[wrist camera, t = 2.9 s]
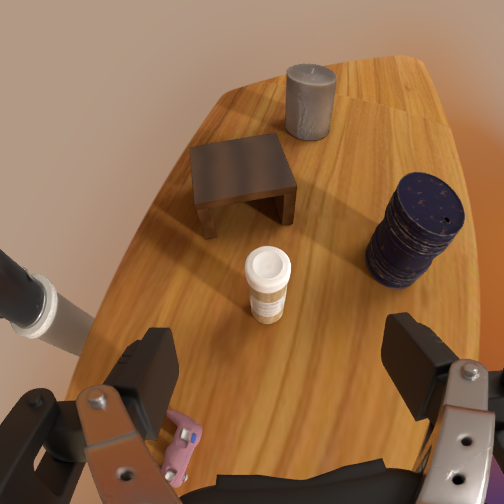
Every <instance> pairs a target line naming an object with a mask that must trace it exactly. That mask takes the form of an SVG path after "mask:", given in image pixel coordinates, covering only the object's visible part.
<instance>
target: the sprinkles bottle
mask: <svg viewBox="0 0 504 504" xmlns="http://www.w3.org/2000/svg"><path fill="white" fill-rule="evenodd" d="M290 272H291V264H290V260H289V258H288V256H287V255H286V254H285V253H284V252H283V251H282V250H280V249H278V248H276V247H272V246H263V247H259V248H257V249H255V250H254V251H252V252H251V253H250V254H249V256H248V257H247V259H246V262H245V275H246V279H247V282H248V284H249V297H250V303H251V312H252V315H253V317H254V318H255V319H256V320H257V321H258V322H261V323H264V324H271V323H274V322H276V321H278V320H279V319H280V318H281V316H282V314H283V311H284V303H285V297H286V291H287V283H288V281H289V278H290Z"/></svg>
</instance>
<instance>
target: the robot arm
mask: <svg viewBox="0 0 504 504" xmlns="http://www.w3.org/2000/svg"><path fill="white" fill-rule="evenodd" d="M24 269H25V270H24ZM24 269H23V268H22V267H20V266H19V265H18V264H17V263H16V262H14V261H13V260H12V259H11V258H10V257H9V256H7V255H6V254H5V253H4V252H3V251H2V250H1V249H0V318H5V319H7V320H9V321H10V322H12V323H14V324H16V325H17V326H18V327H20V328H23V329H28V328H31V327H33V326H34V325H35V324H36V323H37V322H38V321H39V320H40V318H41V317H42V315H43V313H44V310H45V307H46V302H47V293H46V289H45V287H44V285H43V284H42V283H41V282H40V281H39V280H37V279H35V278H34V277H33V276H31V275H30V273H29V272H28V270H27V269H26V268H24ZM381 359H382V363H383V365H384V367H385V369H386V370H387V372H388V374H389V376H390V377H391V379H392V381H393V382H394V384H395V386H396V387H397V389H398V391H399V393H400V394H401V396H402V398H403V400H404V401H405V403H406V405H407V407H408V408H409V410H410V412H411V414H412V416H413V417H414V419H415V421H419V420H423V419H426V418H428V419H429V420H430V422H429V424H428V427H427V429H426V432H425V436H424V439H423V442H422V445H421V448H420V450H419V453H418V456H417V459H416V461H415V464H414V466H413V469H412V471H410V470H405V469H398V468H386V467H385V464H384V462H383V459H382V458H381V459H377V460H372V461H368V462H363V463H358V464H353V465H348V466H343V467H341V468H338V469H336V470H333V471H330V472H327V473H325V474H322V475H319V476H316V477H313V478H310V479H306V480H293V479H284V478H277V477H270V476H263V475H217V479H216V485H214V486H208V487H204V488H200V489H197V490H194V491H191V492H189V493H187V494H185V495H182V496H181V497H178V496H177V494H176V493H175V491H174V490H173V488H172V487H171V485H170V484H169V482H168V481H167V479H166V478H165V476H164V474H163V473H162V471H161V470H160V468H159V466H158V465H157V463H156V461H155V460H154V458H153V456H152V455H151V453H150V451H149V450H148V448H147V446H146V444H145V443H144V439H147V440H155V441H157V438H158V435H159V432H160V429H161V426H162V423H163V420H164V417H165V414H166V411H167V408H168V405H169V402H170V399H171V396H172V394H173V391H174V388H175V385H176V382H177V379H178V375H179V364H178V359H177V355H176V350H175V345H174V340H173V335H172V331H171V329H170V328H149V329H148V331H147V332H146V334H145V335H144V337H143V338H142V340H136V341H135V342H134V343H132V344H131V345H129V346H128V347H127V348H126V350H125V351H124V353H123V354H122V357H120V359H119V360H118V362H117V364H116V365H115V366H114V368H113V369H112V371H111V372H110V374H109V375H108V377H107V378H106V380H105V381H104V383H103V384H102V385H95V386H91V387H89V388H87V389H85V390H83V391H82V392H81V393H80V394H79V395H78V397H77V399H76V401H58V402H57V401H56V399H55V397H54V395H53V393H52V392H51V391H50V390H48V389H45V388H37V389H33V390H30V391H28V392H27V393H25V394H24V395H23V396H22V397H21V398H20V399H19V401H18V402H17V403H16V405H15V406H14V407H13V408H12V410H11V411H10V413H9V414H8V415H7V417H6V418H5V419H4V421H3V422H2V423H1V425H0V504H69V503H70V501H71V498H72V495H73V493H74V490H75V488H76V485H77V483H78V480H79V478H80V475H81V473H82V470H83V468H84V466H85V463H86V462H88V465H89V468H90V471H91V474H92V477H93V480H94V482H95V485H96V488H97V490H98V493H99V495H100V498H101V500H102V502H103V504H487V503H484V501H485V496H486V491H487V486H488V480H489V474H490V468H491V461H492V454H493V455H494V457H495V459H496V461H497V463H498V464H499V466H500V468H501V470H502V472H503V474H504V368H503V370H501V371H489V372H488V371H487V369H486V367H485V366H484V365H483V364H481V363H480V362H478V361H475V360H471V359H459V358H458V357H457V356H456V355H455V354H454V353H453V352H452V350H451V349H450V348H449V347H448V346H447V345H446V344H445V343H444V342H443V343H442V340H441V339H440V338H439V337H437V335H436V334H435V333H434V332H433V331H432V330H431V329H430V328H429V327H427V326H425V325H423V324H421V323H417V322H416V321H415V320H414V319H413V318H412V317H411V315H410V314H409V313H407V312H404V313H397V314H389V315H388V316H387V318H386V322H385V329H384V336H383V342H382V348H381ZM42 445H43V447H44V448H45V449H46V452H45V454H44V456H43V458H42V459H41V462H40V463H39V465H38V467H37V469H36V471H34V466H33V464H34V459H35V457H36V456H37V454H38V452H39V450H40V448H41V447H42Z"/></svg>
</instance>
